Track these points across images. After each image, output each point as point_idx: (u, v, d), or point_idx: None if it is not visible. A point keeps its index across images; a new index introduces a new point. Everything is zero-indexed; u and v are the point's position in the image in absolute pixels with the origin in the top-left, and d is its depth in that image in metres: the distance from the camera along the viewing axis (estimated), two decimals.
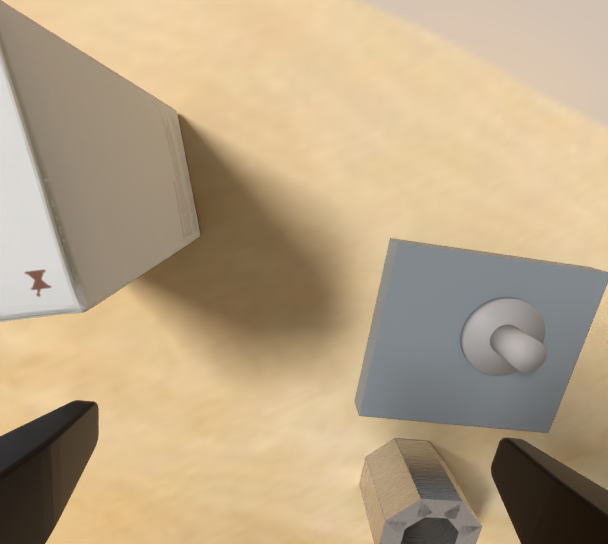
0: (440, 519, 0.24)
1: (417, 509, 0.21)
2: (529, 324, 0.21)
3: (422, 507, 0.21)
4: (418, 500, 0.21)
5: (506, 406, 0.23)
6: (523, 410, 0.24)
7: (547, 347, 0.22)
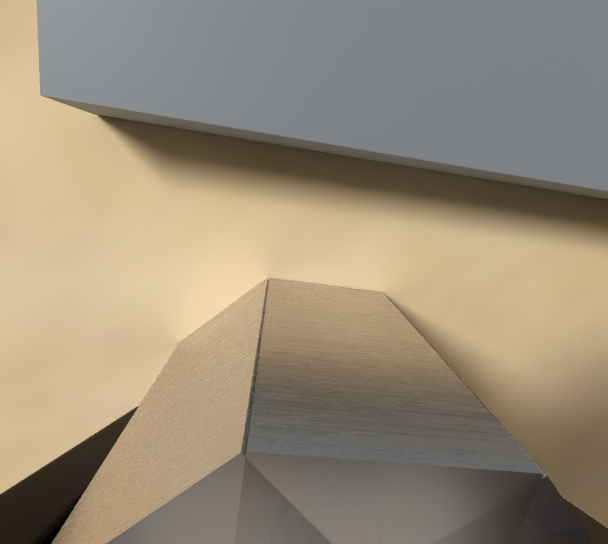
0: None
1: (231, 533, 0.03)
2: None
3: (262, 517, 0.03)
4: (225, 461, 0.03)
5: None
6: None
7: None
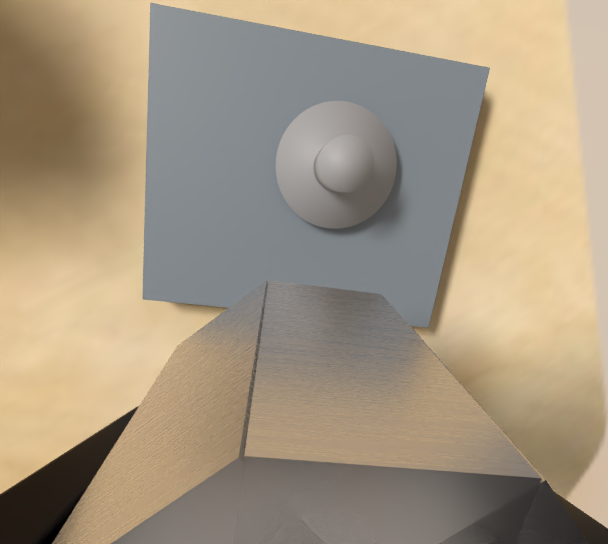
0: None
1: (229, 537, 0.03)
2: (370, 143, 0.14)
3: (260, 521, 0.03)
4: (222, 466, 0.03)
5: (361, 285, 0.16)
6: (387, 292, 0.17)
7: (409, 190, 0.15)
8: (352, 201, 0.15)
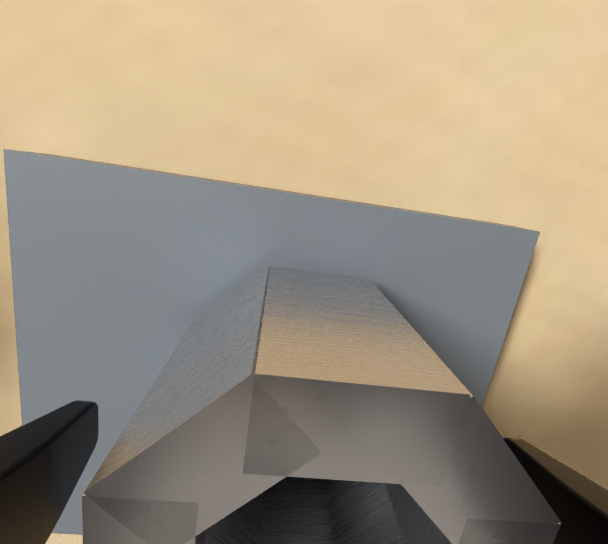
0: (393, 500, 0.07)
1: (243, 438, 0.04)
2: None
3: (266, 424, 0.04)
4: (239, 382, 0.04)
5: None
6: None
7: None
8: None
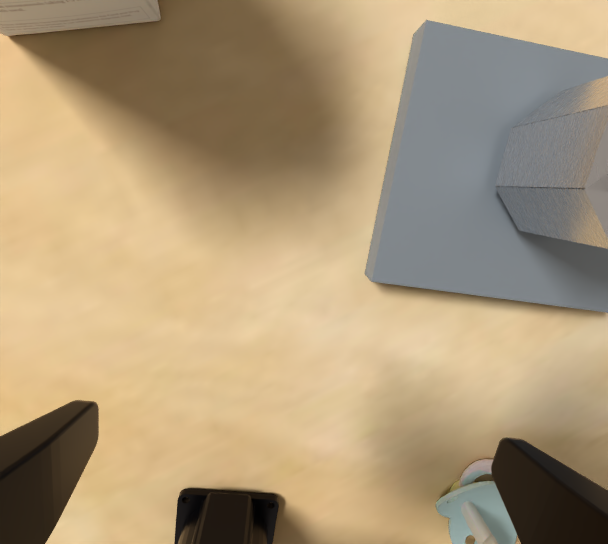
0: None
1: None
2: None
3: None
4: None
5: (559, 273, 0.18)
6: (581, 279, 0.18)
7: None
8: None
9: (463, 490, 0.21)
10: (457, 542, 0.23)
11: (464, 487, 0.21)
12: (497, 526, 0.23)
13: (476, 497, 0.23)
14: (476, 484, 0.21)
